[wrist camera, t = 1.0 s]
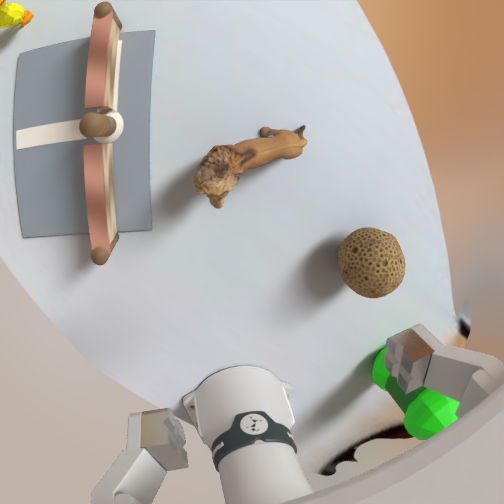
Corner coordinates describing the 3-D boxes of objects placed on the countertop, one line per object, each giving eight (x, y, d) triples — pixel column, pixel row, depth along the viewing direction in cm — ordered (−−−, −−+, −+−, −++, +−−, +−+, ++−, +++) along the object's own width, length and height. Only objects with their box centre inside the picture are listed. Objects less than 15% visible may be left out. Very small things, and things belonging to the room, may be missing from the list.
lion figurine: (205, 200, 36) (212, 220, 28) (182, 161, 34) (183, 169, 26) (311, 144, 36) (346, 149, 28) (293, 105, 34) (325, 99, 26)
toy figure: (39, -7, 20) (0, -41, 9) (52, 3, 22) (13, -32, 11) (4, 32, 21) (-44, 10, 10) (15, 43, 22) (-34, 22, 11)
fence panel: (98, 143, 30) (81, 145, 24) (114, 142, 30) (99, 143, 25) (105, 244, 34) (92, 265, 29) (119, 243, 35) (109, 264, 29)
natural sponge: (312, 263, 42) (346, 298, 33) (343, 206, 40) (386, 229, 31) (358, 283, 45) (394, 317, 36) (387, 232, 43) (430, 257, 34)
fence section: (117, 135, 31) (102, 136, 24) (98, 137, 30) (79, 138, 24) (125, 20, 26) (114, -3, 19) (105, 22, 25) (91, 1, 19)
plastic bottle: (395, 325, 51) (481, 415, 29) (412, 349, 56) (484, 428, 33) (355, 362, 52) (427, 463, 30) (376, 381, 57) (439, 468, 34)
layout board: (151, 228, 36) (151, 230, 35) (24, 236, 32) (22, 237, 31) (155, 31, 27) (155, 29, 27) (20, 54, 23) (18, 53, 23)
